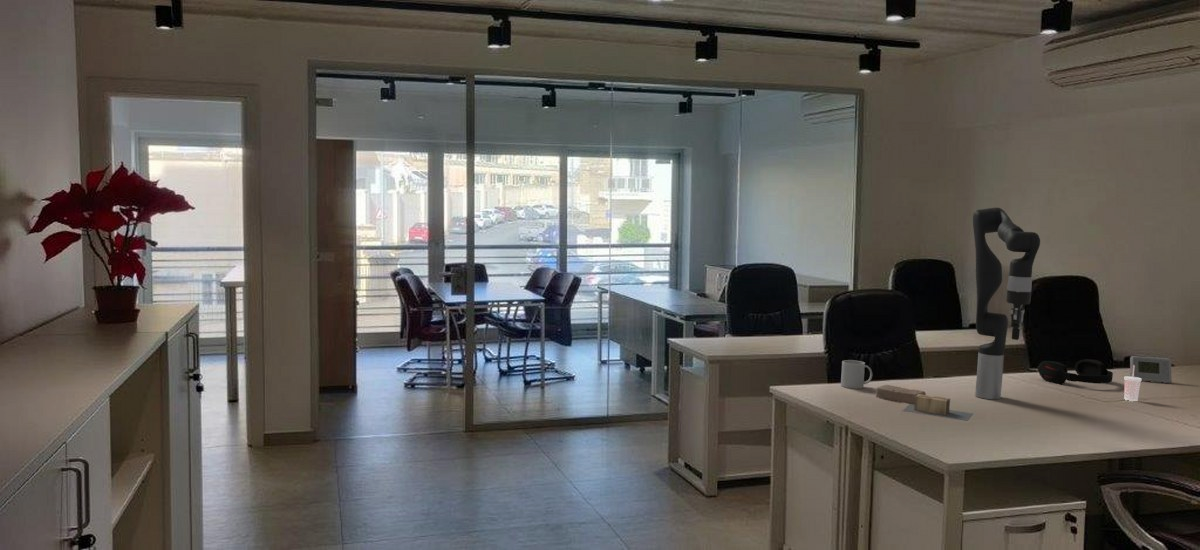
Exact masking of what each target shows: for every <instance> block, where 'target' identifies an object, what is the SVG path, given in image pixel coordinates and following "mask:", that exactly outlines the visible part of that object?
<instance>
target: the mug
mask: <svg viewBox="0 0 1200 550" xmlns="http://www.w3.org/2000/svg"><path fill="white" fill-rule="evenodd" d="M865 368H867V369H868V371H869V378H868V380H867V379H866V381H865ZM872 379H873V371H872V368H871V367H869V365H866V362H864V361H861V360H854V359H847V360H845V359H844V360H842V361H841V377H840V386H841V387H843V388H846V389H855V390H856V389H857V390H858V389H864V385H867V384H869V383H870V382H871V380H872Z"/></svg>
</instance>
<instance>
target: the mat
mask: <svg viewBox="0 0 1200 550" xmlns="http://www.w3.org/2000/svg"><path fill="white" fill-rule="evenodd" d="M914 407H915V404H911V403H908V405H907V406H906V407H904V408H903V409H902V410H901V412H906V413H914V414H920V415H924V416H925V415H927V416H931V417H932V416H933V417H939V418H945V419H952V420H958V421H964V422H965V421H966V422H968V421H969V420H970V418H971V417H972V416H973V415H974V413H973V412H965V411H960V410H959V411H958V410H951V409H949V413H948V414H947V415H943V414H936V413H929V412H923V411H916V410H914Z"/></svg>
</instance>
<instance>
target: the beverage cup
mask: <svg viewBox="0 0 1200 550" xmlns="http://www.w3.org/2000/svg"><path fill="white" fill-rule="evenodd" d="M1134 368H1135V365H1133V375H1132V377H1130V375H1129V376H1128V375H1127V376H1125V375H1124V377H1123V379H1124V396H1123V397H1124V398H1123V400H1124V399H1125V400H1124V401H1127V400H1129V401H1128V402H1133V401H1137V402H1138V400H1139V393H1140V388H1141V381H1142V379H1141V378H1138V377H1134Z"/></svg>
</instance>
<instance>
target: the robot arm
mask: <svg viewBox="0 0 1200 550" xmlns="http://www.w3.org/2000/svg"><path fill="white" fill-rule="evenodd" d="M972 229H973V230H972V231H973V237H974V247H975V280H976V281H975V283H976V284H975V285H976V312H975V313H976V315H975V329H976V332H977V334H979V335H980V336H985V337H994V339H993V341H992V342H988V343H985V344H980V345H979V346H978V352H977V353H978V355H977V369H976V381H975V393H974V395H975V397H977V398H980V399H986V400H1001V398H1002V387H1003V376H1004V375H1003V373H1004V363H1005V362H1004V361H1005V360H1004V359H1005V350H1006V343H1007V342H1006V341H1007V334H1008V333H1007V332H1008V326H1009V320H1008V316H1007V315H1006V314H1004V313H999V312H990V311H989V312H988V306H989V303H990V301H991V299H992V298H993V296H994V295H995V293H996V292H997V291H998V289H999V288H1000V286H1001V284H1002V282H1003V267H1002V265H1003V264H1002V262H1001V261H1000V260H999V258H998V257H997V255H996V254H995V253H994V252H993V251H992V249H991V248H990V247H989V245H988V243H987V239H986V234H992V233H997V236H998V238H999V239H1001V241H1002V242H1004V243H1005V246H1006V249H1007V250H1008V251H1010V252H1013V253H1024V254H1023V256H1022V257H1020V258H1014V259H1011V260H1010V262H1009V273H1008V279H1007V289H1006V299H1005V300H1006V301H1005V302H1006V303H1008V304H1013V305H1012V307H1011V308H1010V322H1011V324H1010V326H1011V340H1016V341H1018V340H1019V339H1020V334H1021V333H1020V331H1021V328H1022V326H1023V325H1022V323H1023V322H1024V314H1025V308H1023V306H1024V305H1030V304H1031V299H1032V286H1033V285H1032V284H1033V281H1032V280H1033V279H1032V276H1033V275H1032V274H1033V266H1034V261H1035V259H1036V256H1037V254H1038V251H1039V248H1040V246H1041V238H1040V235H1039V234H1038V233H1036V232H1035V231H1034V232H1033V231H1024V230H1023V229H1022V227H1020V226H1018V225H1016V224H1015V223H1014V222H1013V221H1012V219H1011V218H1010V217H1009V215H1008V214H1007V213H1006V211H1005V210H1004V209H1003V208H1000V207H988V208H982V209H976V210H975V211H974V212H973V214H972Z"/></svg>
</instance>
